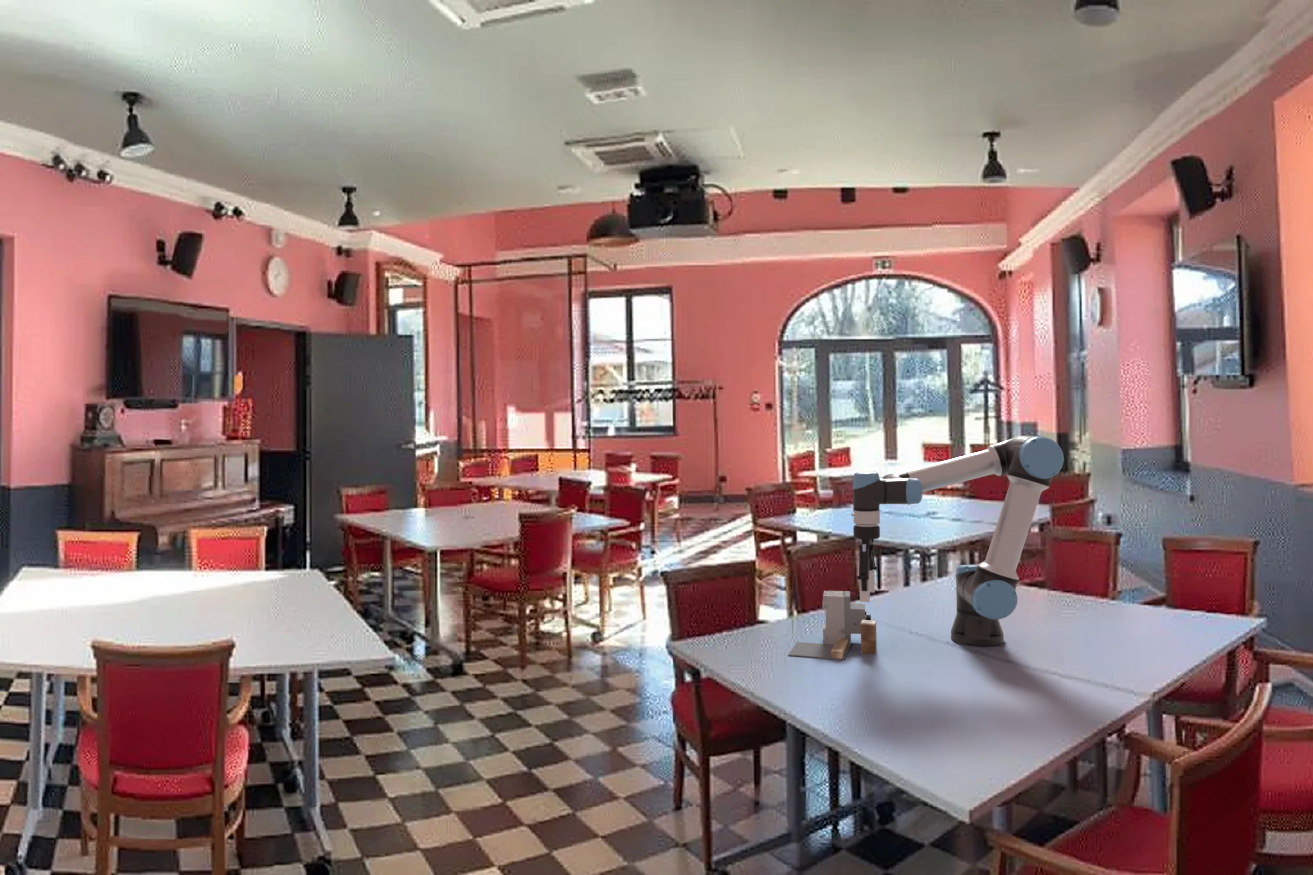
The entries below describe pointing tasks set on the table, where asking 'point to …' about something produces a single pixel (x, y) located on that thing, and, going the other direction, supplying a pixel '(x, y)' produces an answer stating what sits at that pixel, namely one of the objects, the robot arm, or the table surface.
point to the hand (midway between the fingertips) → (867, 596)
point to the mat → (814, 650)
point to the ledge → (839, 648)
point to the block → (868, 637)
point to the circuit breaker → (841, 616)
